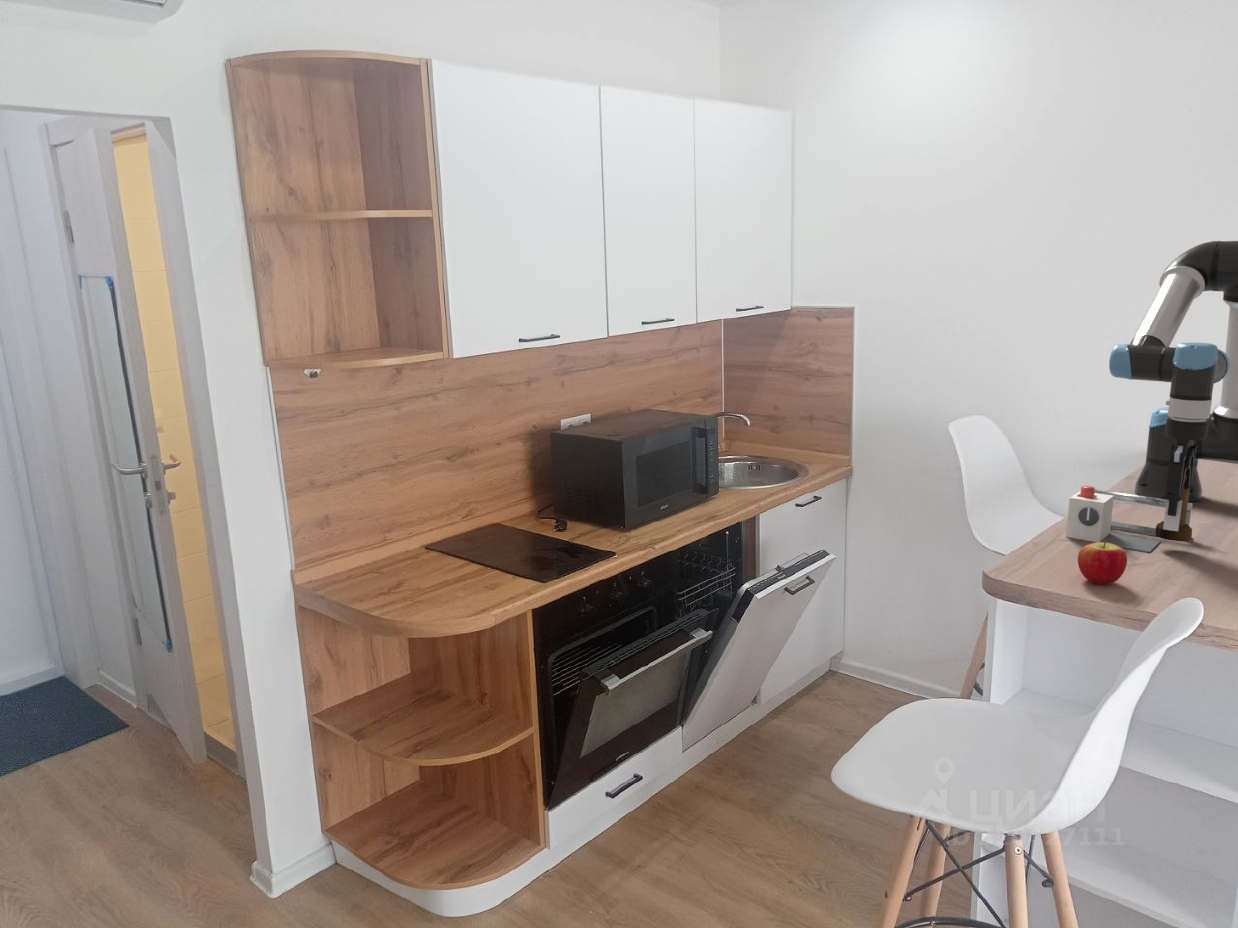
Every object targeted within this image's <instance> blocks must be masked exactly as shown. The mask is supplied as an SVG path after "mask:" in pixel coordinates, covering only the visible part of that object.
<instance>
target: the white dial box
mask: <svg viewBox="0 0 1238 928" xmlns="http://www.w3.org/2000/svg"><path fill="white" fill-rule="evenodd" d="M1080 491H1081V490H1079V491H1077V493H1074V494H1073V495H1072V496H1070V497H1069V500H1068V501H1069V502H1068V512H1067V513H1068V514H1067V521H1066V522H1067V523H1066V531H1065V533H1066V534H1065V537H1066V538H1069V539H1071V538H1072V539H1077V540H1081V541H1082V540H1083V541H1087V542H1091V543H1092V542H1093V543H1096V542H1100V541H1101V540H1102V539H1103V538H1105V537H1106V536H1107V535H1108V534H1110V533H1111V529H1110V527H1111V521H1112V518H1113V517H1112V516H1113V508H1114V507H1113V506H1114V501H1115V500H1114V496H1112V495H1105V494H1099V493H1094V499H1091V498H1084V497H1080Z"/></svg>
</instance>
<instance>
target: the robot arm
mask: <svg viewBox="0 0 1238 928" xmlns="http://www.w3.org/2000/svg"><path fill="white" fill-rule="evenodd" d="M1158 284H1159V285H1158V286H1159V289H1158V291H1157V292H1156V294H1155V296H1154V298H1153V300H1152V302H1151V304H1150V306H1149V307H1148V310H1147V311H1146V313H1145V314H1144V317H1143V319H1142V320H1141V323H1140V324H1139V326H1138V328H1137V329H1136V332H1135V333H1134V335H1133V336H1132V339H1131V341H1130V343H1129V344H1127V343H1125V344H1117V345H1114V347H1113V348H1112V350H1111V352H1110V356H1109V363H1108V364H1109V365H1108V366H1109V372H1110V374H1111V376H1112V377H1114V378H1119V379H1126V380H1129V381H1130V380H1134V381H1147V382H1148V381H1149V382H1164V383H1170V390H1169V391H1170V392H1169V400H1166V401H1165V405H1166V407H1165V406H1164V407H1159V408H1157V409H1155V410H1154V411H1152V413H1151V417H1150V422H1149V425H1148V438H1147V444H1146V445H1147V446H1146V455H1145V456H1146V457H1145V463H1144V466H1143V468H1142V470H1141V472H1140V474H1139V476H1138V478H1137V480H1136V481H1135V483H1134V484H1135V485H1134V493H1135V495H1139V496H1146V497H1153V498H1160V499H1167V501H1166V508H1165V510H1164V517H1163V521H1164V525H1163V529H1165V530H1171V531H1177V532H1178V530H1179V522H1180V514H1181V506H1182V500H1181V499H1182V497H1181V496H1182V491H1183V485H1185V486H1188V487H1190V491H1189V498H1188V503H1194V502H1198V501H1200V500H1202V496H1203V488H1202V483H1201V480H1200V475H1199V471H1198V465H1199V460H1203V461H1213V462H1222V463H1228V464H1235V465H1238V240H1227V241H1226V240H1225V241H1223V240H1213V241H1207V242H1202V243H1199V244H1197V245H1195V246H1193V247H1191V248H1189V249H1187V250H1186V251H1184V252H1182V253H1180V255H1177V257H1175V258H1174V259H1173V260H1172V261H1171V262H1170V263H1168V266H1166V268H1165V269H1164V270H1163V273H1162V274H1161V276H1160V278H1159V282H1158ZM1203 292H1222V293H1223V295H1222V296H1223V297H1222V300H1223V302H1224V303H1225V304H1227V306H1229V312H1228V314H1229V315H1228V322H1227V332H1226V344H1225V345H1226V346H1225V351H1223V350H1221V349H1220V348H1218V345H1216V344H1213V343H1208V342H1181V343H1178V344H1177V345H1176V347H1173V346H1172V347H1171V344H1172V342H1173V340H1174V338H1175V336H1176V334H1177V332H1178V331H1179V328H1180V326H1181V325H1182V323H1183V321H1184V318H1185V317H1186V315H1187V313H1188V311H1189V310H1190V307H1191V306H1192V303H1193V302H1194V300H1196V299H1197V298H1199V297H1200V296H1201V295H1202V294H1203ZM1221 381H1222V386H1221V394H1220V395H1221V396H1220V402H1219V403H1218V404H1216V405H1215V406H1214V407H1213V408H1212V404H1213V403H1212V402H1213V399H1212V398H1213V391H1214V385H1215V384H1217V383H1218V382H1221ZM1211 410H1212V411H1211ZM1211 412H1212V413H1211ZM1184 464H1185V465H1184ZM1185 474H1186V475H1187V478H1186V481H1185V483H1184V480H1185ZM1173 493H1175V494H1173Z"/></svg>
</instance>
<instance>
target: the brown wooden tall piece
mask: <svg viewBox="0 0 1238 928" xmlns="http://www.w3.org/2000/svg"><path fill="white" fill-rule="evenodd" d="M1184 465H1185V464H1184ZM1186 478H1187V475H1186V474H1185V480H1184V483H1185V481H1186ZM1189 491H1190V487H1188V486H1185V485H1183V491H1182V496H1181V497H1182V499H1181V500H1182V506H1181V514H1180V522H1179V530H1178V532H1177V531H1171V530H1165V529H1163V525H1164V520H1161V522H1159V523H1157V524H1156V525H1155V528H1156V532H1155V535H1156V536H1155V537H1157V538H1158V539H1163V540H1167V541H1174V542H1189V541H1191V540H1192V538H1191V537H1193V528H1192V527H1191V526H1190V524H1189V525H1188V524H1186V515H1187V506H1188V503H1189V502H1188V498H1189ZM1173 494H1175V493H1173Z"/></svg>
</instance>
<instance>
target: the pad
mask: <svg viewBox="0 0 1238 928" xmlns="http://www.w3.org/2000/svg"><path fill="white" fill-rule="evenodd" d="M1109 535H1110V537H1109V538H1108V539H1107V537H1108V536H1109ZM1106 539H1107V541H1106ZM1105 541H1106V543H1111V544H1114V545H1117V546H1119V547H1121V548H1122V549H1124V550H1130V551H1131V550H1132V551H1137V552H1141V553H1142V552H1143V553H1148V554H1150V553H1151V552H1152V551H1153V550H1154V549H1155V548H1156V547H1157V546H1158V545H1159V544H1160V543H1161V541H1162V540H1158V539H1152V538H1148V537H1147V538H1146V537H1140V536H1136V535H1129V534H1123V533H1118V532H1113V531H1110V534H1108V535H1107V536H1106V537H1105V538H1103V539H1102V540H1101V541H1100V542H1104V543H1105Z"/></svg>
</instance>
